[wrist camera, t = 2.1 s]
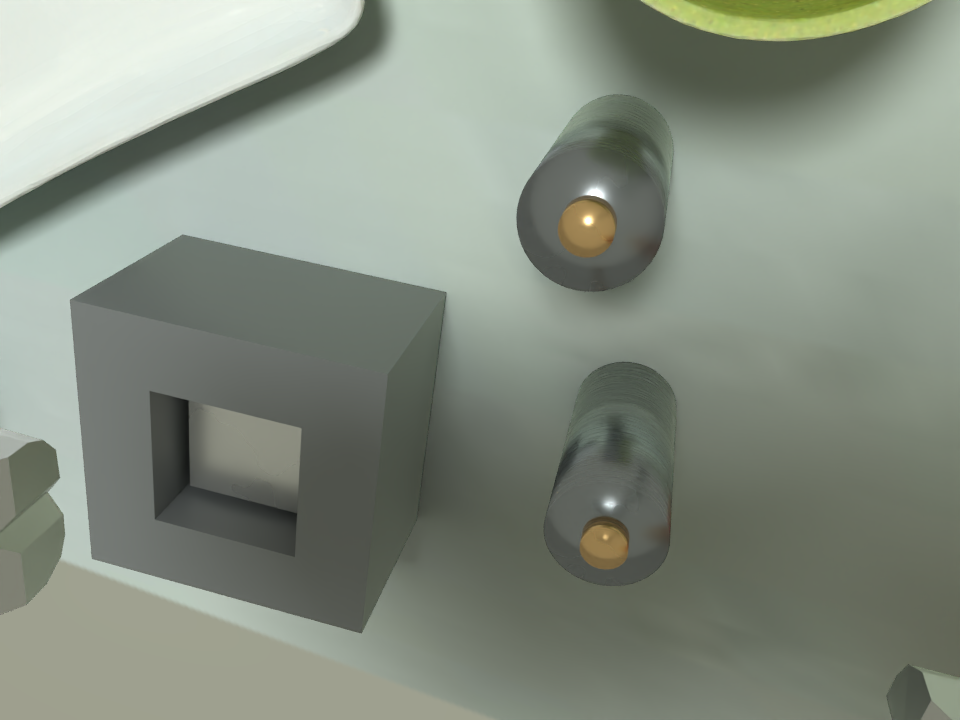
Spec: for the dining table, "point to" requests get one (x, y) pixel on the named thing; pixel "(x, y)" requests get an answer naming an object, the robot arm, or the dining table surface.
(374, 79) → the dining table surface
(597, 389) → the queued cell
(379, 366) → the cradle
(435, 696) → the dining table surface
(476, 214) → the dining table surface
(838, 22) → the plant pot
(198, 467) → the plunger
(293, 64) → the salad plate
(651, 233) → the cell
